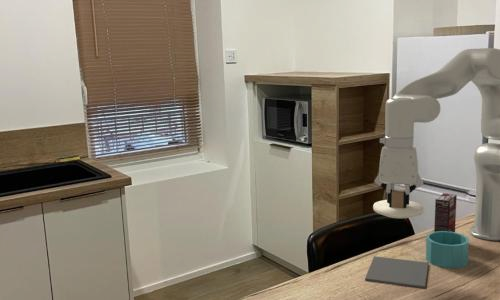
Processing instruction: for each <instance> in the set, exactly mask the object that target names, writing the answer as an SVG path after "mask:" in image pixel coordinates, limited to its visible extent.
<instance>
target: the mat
mask: <svg viewBox="0 0 500 300" xmlns="http://www.w3.org/2000/svg"><path fill="white" fill-rule="evenodd" d="M428 270H429V262H428V261H418V260H409V259H401V258H394V257H393V258H392V257H385V256H373V258H372V261H371V263H370V265H369V268H368V270H367V273H366V275H365V277H364V281H369V282H374V283H383V284H390V285H397V286H402V287H403V286H405V287H412V288H419V289H420V288H421V289H426V282H427V276H428Z"/></svg>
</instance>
